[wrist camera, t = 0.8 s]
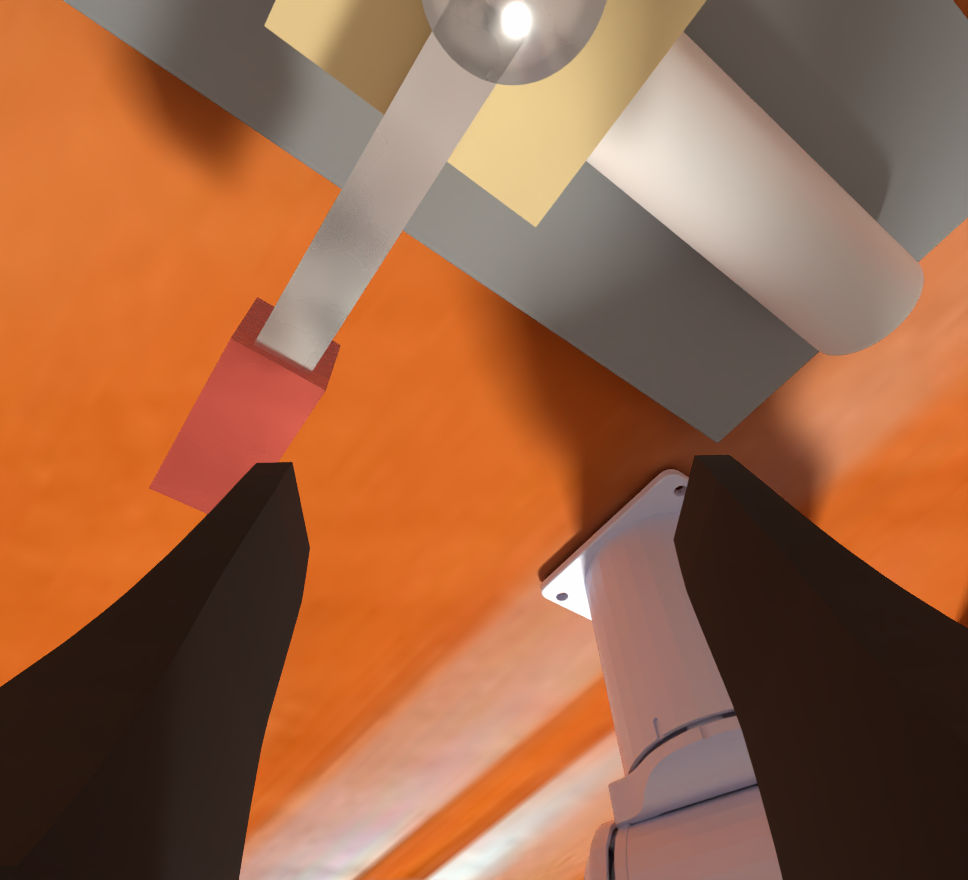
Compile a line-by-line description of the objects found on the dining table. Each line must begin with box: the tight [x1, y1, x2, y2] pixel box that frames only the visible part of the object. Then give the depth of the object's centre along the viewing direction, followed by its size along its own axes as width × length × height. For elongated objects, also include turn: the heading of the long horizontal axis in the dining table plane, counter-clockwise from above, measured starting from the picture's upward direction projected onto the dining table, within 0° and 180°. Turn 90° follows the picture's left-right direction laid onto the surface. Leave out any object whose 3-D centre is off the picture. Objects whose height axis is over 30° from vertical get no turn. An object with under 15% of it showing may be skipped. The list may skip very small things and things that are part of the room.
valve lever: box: [149, 0, 607, 514], centre depth 12 cm, size 3×13×2 cm, turn 144°
